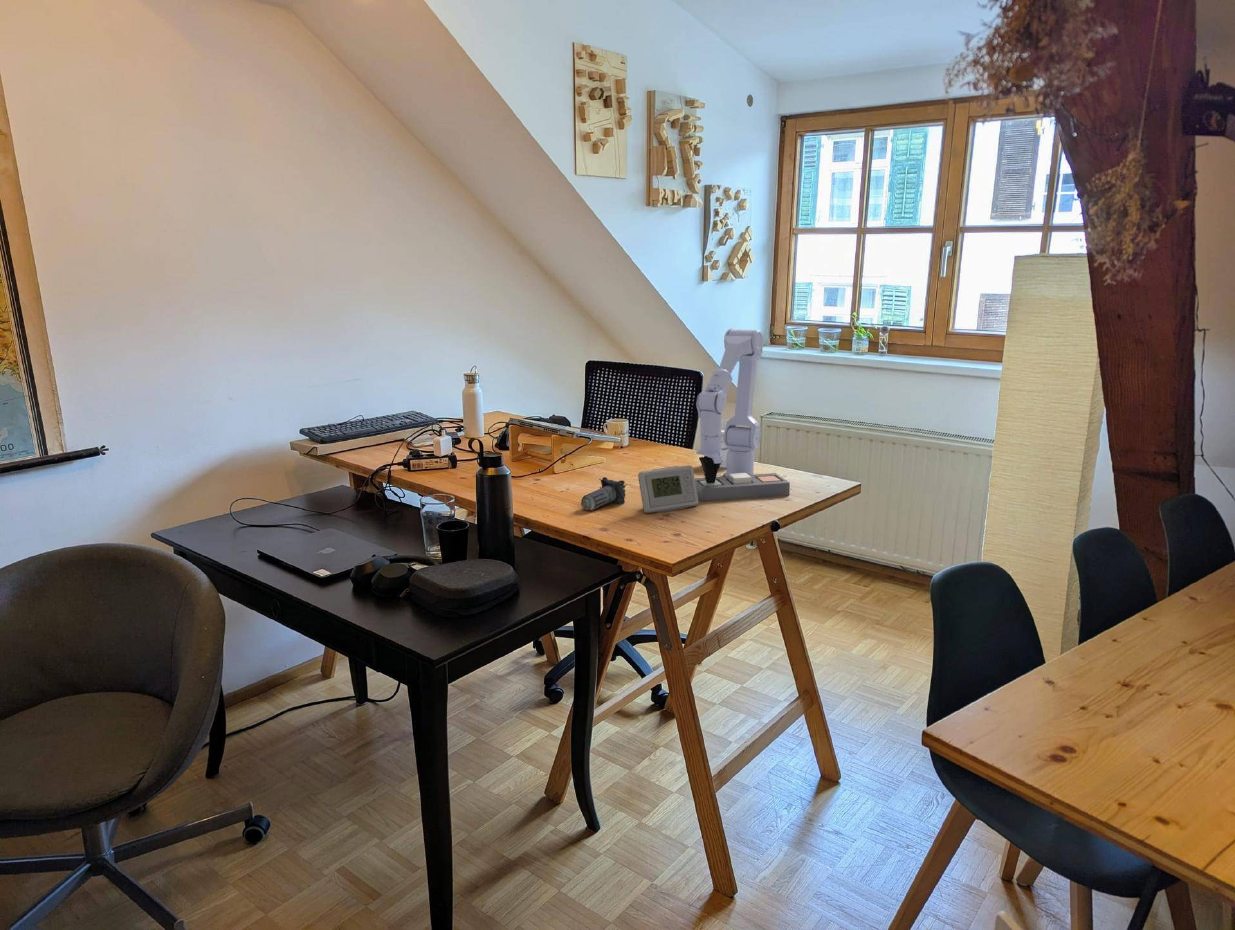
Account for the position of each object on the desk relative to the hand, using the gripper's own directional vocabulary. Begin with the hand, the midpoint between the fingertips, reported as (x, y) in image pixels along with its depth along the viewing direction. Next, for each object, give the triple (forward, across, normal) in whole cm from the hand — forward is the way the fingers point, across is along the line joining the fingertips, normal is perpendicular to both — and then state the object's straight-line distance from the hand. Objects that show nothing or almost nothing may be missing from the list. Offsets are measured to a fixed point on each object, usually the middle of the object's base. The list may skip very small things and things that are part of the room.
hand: (710, 482), depth 220 cm
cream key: (0, 0, +8) cm, 8 cm away
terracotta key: (+2, 0, +17) cm, 17 cm away
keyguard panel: (+3, 0, +8) cm, 9 cm away
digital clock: (+4, +9, -14) cm, 17 cm away
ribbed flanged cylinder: (+4, +3, -31) cm, 32 cm away
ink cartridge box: (+4, -31, +12) cm, 33 cm away
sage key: (+2, 0, 0) cm, 2 cm away
